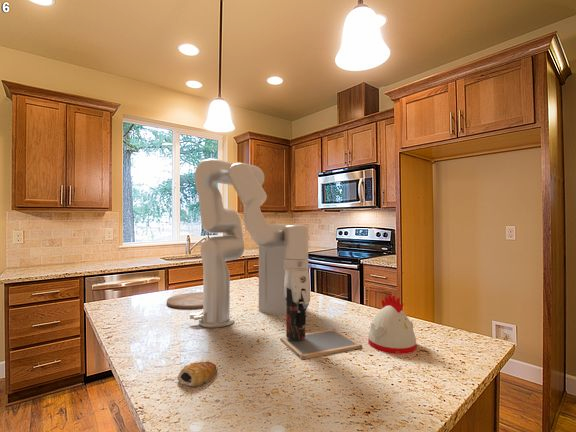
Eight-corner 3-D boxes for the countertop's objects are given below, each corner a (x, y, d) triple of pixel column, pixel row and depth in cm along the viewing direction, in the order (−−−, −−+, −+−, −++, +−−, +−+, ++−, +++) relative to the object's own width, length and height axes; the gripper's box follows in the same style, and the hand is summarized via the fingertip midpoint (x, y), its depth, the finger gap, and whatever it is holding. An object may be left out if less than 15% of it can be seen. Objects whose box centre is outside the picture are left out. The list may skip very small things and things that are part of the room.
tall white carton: (315, 310, 134) (315, 243, 134) (294, 319, 122) (294, 245, 122) (279, 303, 145) (280, 241, 146) (257, 310, 134) (257, 243, 134)
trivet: (155, 304, 145) (155, 299, 145) (199, 293, 165) (199, 290, 165) (190, 313, 130) (190, 308, 130) (234, 300, 151) (234, 296, 151)
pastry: (204, 367, 83) (204, 352, 83) (223, 373, 79) (224, 358, 79) (174, 383, 75) (175, 366, 75) (195, 391, 71) (195, 374, 71)
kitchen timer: (391, 357, 88) (391, 303, 88) (359, 340, 100) (359, 293, 101) (426, 348, 95) (426, 297, 95) (391, 333, 107) (391, 288, 107)
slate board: (301, 359, 87) (301, 356, 87) (280, 340, 101) (280, 337, 101) (361, 347, 95) (361, 344, 95) (334, 331, 109) (334, 329, 109)
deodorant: (303, 340, 96) (304, 290, 96) (284, 338, 97) (284, 289, 97) (306, 333, 102) (306, 286, 102) (288, 332, 103) (288, 285, 103)
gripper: (320, 267, 93) (320, 329, 93) (295, 260, 109) (294, 313, 109) (297, 268, 90) (296, 332, 90) (274, 261, 106) (274, 315, 106)
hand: (295, 321), depth 100 cm, fingers closed on deodorant, 5 cm apart
